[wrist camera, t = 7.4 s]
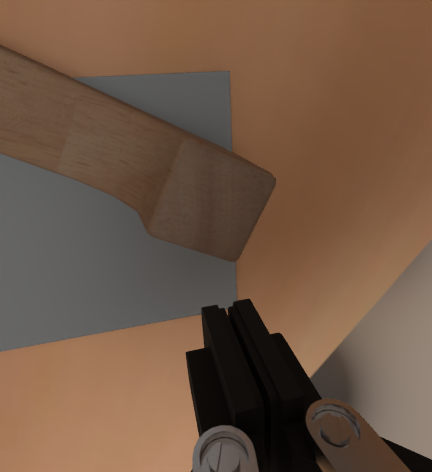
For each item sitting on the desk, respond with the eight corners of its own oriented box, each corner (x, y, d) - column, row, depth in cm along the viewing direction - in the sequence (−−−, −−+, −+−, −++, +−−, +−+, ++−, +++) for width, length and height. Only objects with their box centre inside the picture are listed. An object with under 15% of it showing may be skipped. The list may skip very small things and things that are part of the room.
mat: (227, 71, 20) (229, 70, 20) (235, 303, 27) (237, 307, 27) (-143, 87, 16) (-150, 87, 16) (-20, 351, 24) (-23, 355, 23)
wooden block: (282, 179, 14) (-356, -112, 7) (237, 267, 15) (-343, 85, 8) (228, 149, 22) (-95, 0, 15) (202, 208, 23) (-108, 93, 16)
